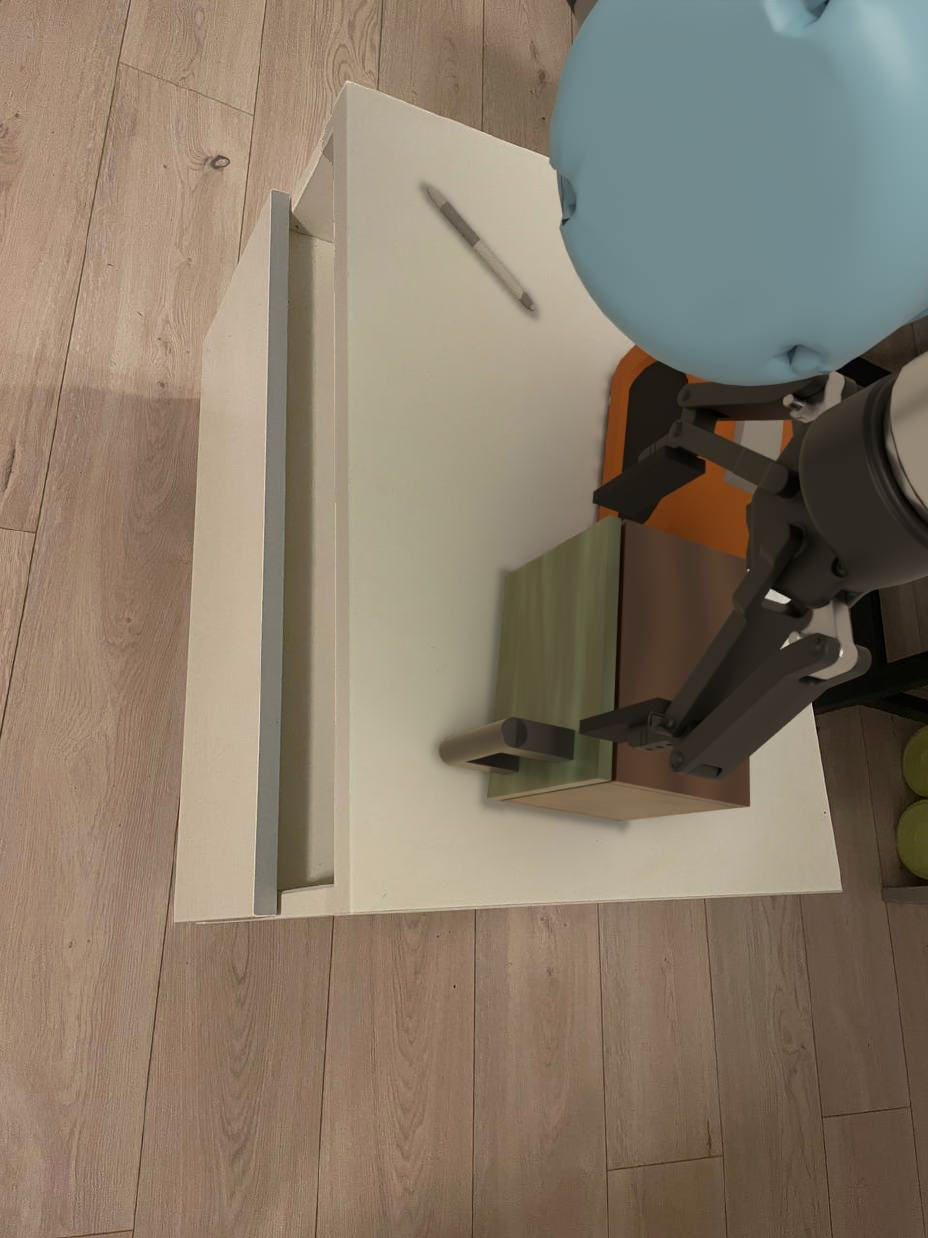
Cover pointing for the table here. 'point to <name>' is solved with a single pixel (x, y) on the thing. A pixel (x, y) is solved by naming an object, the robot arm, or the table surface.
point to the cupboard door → (551, 671)
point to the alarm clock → (717, 496)
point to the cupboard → (660, 674)
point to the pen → (480, 248)
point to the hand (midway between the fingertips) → (606, 613)
